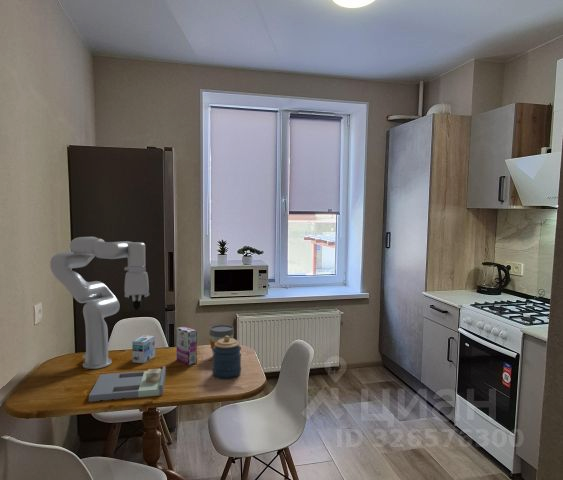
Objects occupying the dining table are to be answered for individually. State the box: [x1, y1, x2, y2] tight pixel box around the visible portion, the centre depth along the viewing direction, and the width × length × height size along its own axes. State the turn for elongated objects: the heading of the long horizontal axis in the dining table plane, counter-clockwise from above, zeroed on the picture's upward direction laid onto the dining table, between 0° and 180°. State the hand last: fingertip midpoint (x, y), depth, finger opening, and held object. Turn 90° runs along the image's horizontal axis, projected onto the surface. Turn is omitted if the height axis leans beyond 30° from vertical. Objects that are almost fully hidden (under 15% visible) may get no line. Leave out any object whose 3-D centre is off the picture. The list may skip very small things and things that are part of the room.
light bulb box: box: [131, 334, 156, 364], centre depth 193 cm, size 11×7×11 cm, turn 168°
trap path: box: [88, 365, 167, 402], centre depth 162 cm, size 27×20×4 cm
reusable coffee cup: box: [209, 324, 235, 355], centre depth 197 cm, size 12×13×15 cm
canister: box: [211, 336, 242, 380], centre depth 176 cm, size 13×13×18 cm
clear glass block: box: [146, 368, 162, 383], centre depth 163 cm, size 5×5×4 cm
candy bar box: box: [176, 326, 198, 366], centre depth 191 cm, size 11×5×16 cm, turn 47°
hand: (137, 309), depth 176 cm, fingers closed
